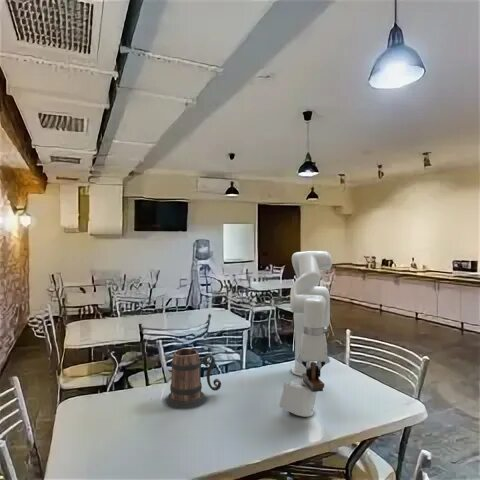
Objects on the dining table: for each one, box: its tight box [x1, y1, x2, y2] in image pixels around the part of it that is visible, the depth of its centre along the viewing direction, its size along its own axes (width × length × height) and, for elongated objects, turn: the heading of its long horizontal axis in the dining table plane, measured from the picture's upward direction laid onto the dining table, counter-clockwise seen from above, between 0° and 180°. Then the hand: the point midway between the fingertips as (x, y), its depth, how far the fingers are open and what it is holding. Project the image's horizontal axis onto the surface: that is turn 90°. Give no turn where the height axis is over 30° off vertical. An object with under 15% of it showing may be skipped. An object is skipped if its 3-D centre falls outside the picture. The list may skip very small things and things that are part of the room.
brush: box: [301, 361, 325, 393], centre depth 157 cm, size 11×4×9 cm, turn 13°
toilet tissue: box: [279, 378, 318, 418], centre depth 158 cm, size 11×12×10 cm
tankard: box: [165, 347, 222, 410], centre depth 170 cm, size 24×17×20 cm
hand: (313, 378), depth 157 cm, fingers closed on brush, 2 cm apart
